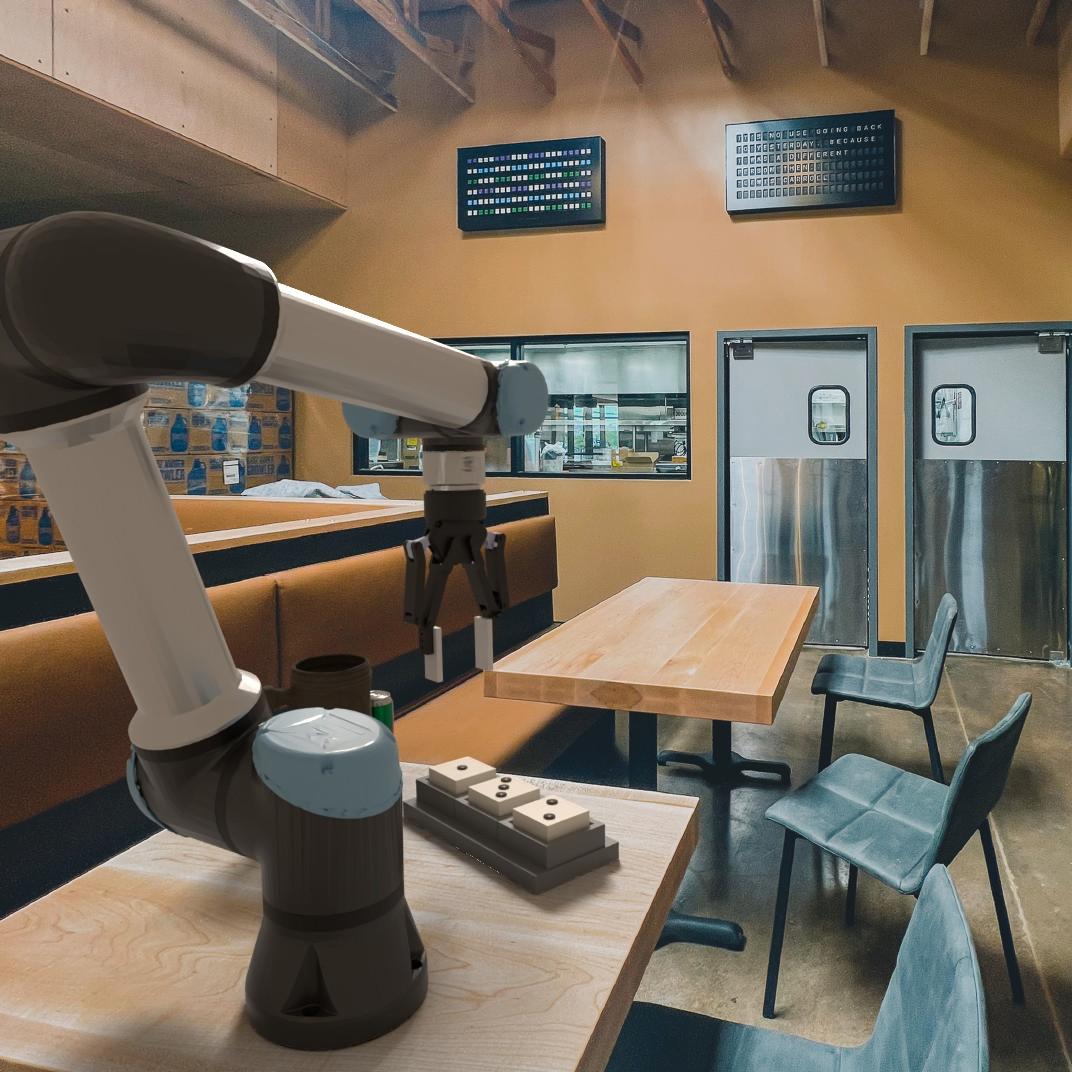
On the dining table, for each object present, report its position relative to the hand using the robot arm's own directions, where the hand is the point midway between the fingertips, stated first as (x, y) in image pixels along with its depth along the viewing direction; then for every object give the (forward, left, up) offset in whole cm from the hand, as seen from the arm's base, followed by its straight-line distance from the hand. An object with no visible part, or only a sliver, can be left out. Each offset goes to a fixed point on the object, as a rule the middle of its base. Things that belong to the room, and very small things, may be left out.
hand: (459, 673), depth 110 cm
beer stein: (-14, +11, -18) cm, 25 cm away
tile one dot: (0, 0, -15) cm, 15 cm away
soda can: (-2, +18, -18) cm, 26 cm away
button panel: (0, -8, -18) cm, 20 cm away
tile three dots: (0, -9, -15) cm, 17 cm away
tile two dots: (0, -17, -15) cm, 22 cm away
